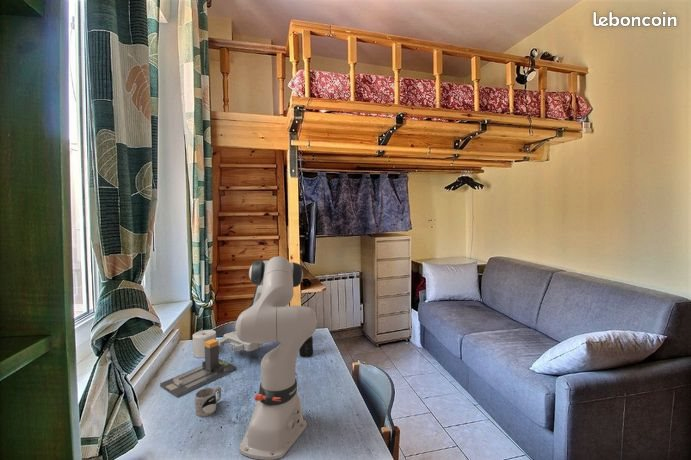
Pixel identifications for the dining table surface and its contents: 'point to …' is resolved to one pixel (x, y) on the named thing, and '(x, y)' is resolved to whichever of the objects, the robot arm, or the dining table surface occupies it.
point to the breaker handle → (211, 354)
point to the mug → (206, 401)
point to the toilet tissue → (201, 342)
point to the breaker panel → (195, 378)
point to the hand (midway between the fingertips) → (226, 346)
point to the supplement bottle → (307, 348)
